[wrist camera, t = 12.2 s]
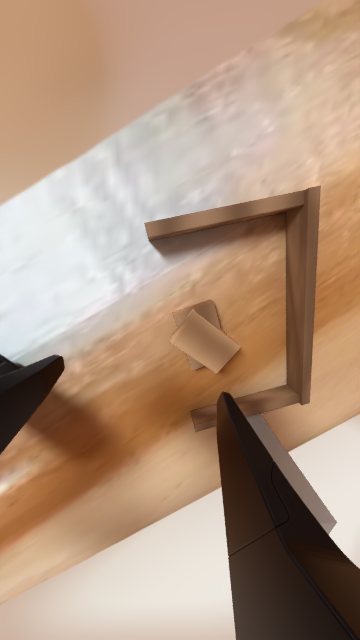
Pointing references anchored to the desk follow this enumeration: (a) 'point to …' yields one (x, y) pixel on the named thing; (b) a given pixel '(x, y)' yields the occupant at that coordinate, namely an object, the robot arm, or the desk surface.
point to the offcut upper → (204, 342)
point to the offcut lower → (206, 311)
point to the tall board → (292, 472)
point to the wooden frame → (298, 289)
